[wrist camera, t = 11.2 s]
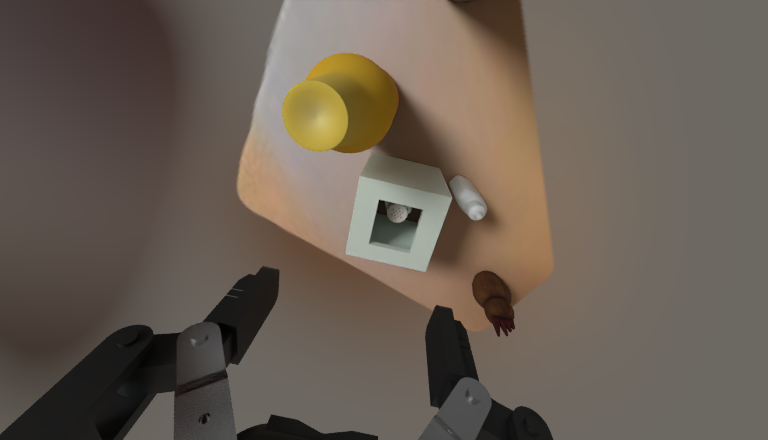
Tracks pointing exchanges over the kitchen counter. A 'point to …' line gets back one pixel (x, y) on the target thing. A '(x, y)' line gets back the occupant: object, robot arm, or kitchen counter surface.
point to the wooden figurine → (494, 300)
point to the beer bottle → (341, 105)
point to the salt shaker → (397, 211)
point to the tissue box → (405, 187)
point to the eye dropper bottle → (468, 198)
